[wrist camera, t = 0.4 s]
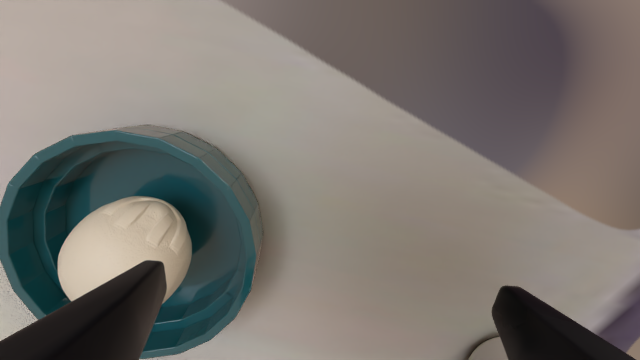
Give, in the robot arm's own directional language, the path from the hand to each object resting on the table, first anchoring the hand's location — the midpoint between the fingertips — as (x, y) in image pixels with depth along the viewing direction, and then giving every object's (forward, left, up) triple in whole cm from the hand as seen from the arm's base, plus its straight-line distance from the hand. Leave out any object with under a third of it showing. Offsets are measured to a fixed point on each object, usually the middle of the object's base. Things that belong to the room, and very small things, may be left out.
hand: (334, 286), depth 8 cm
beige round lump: (-12, +1, -14) cm, 19 cm away
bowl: (-12, +1, -14) cm, 19 cm away
